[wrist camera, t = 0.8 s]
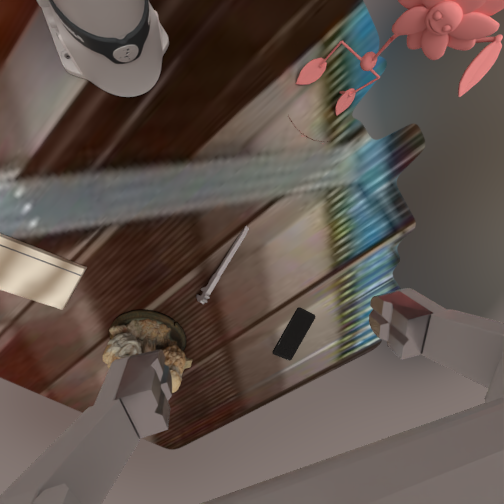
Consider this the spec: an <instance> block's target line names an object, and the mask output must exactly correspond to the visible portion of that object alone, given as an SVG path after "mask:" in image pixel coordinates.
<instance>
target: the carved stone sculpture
mask: <svg viewBox="0 0 504 504" xmlns="http://www.w3.org/2000/svg"><path fill="white" fill-rule="evenodd" d="M109 331H110V341H109V342H108V345H107V347H106V349H105V351H104V353H103V361H104V362H105V363H106V364H108V365H107V366H108V368H110V366H111V363H112V362H113V361H114V360H116V359H120V358H125V357H129V356H132V355H137V354H141V353H146V352H150V351H155V350H159V349H161V350H163V353H164V355H165V365H167V366H168V367H169V369H170V372H171V377H172V393H174V392H176V391H177V390H178V388H179V386H180V384H181V380H182V378H181V375H182V373H183V371H184V369H185V368H190V367H191V363H192V359H188V358H186V356H185V354H184V352H183V351H184V349H185V347H186V336H185V333H184V331H183V329H182V327H181V326H180V325H179V324H178V323H177V322H176V323H175V326H174V320H173V319H172V318H170V317H168V316H167V315H164V314H161V313H158V312H155V311H149V310H133V311H131V312H128V313H124V314H121V315H120V316H118V317H117V318H116V319H115V321H114V322H113V323H112V325H111V328H110V329H109Z"/></svg>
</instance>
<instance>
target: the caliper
mask: <svg viewBox="0 0 504 504" xmlns="http://www.w3.org/2000/svg"><path fill="white" fill-rule="evenodd" d="M248 230H249V228H248V227H247V226H245V228H244V229H243V230H242V232H241V233H240V235H239V236H238V238H237V239H236V241H235V243H234V244H233V246H232V247H231V249H230V251H229V252H228V254H227V255H226V257H225V259H224V260H223V262H222V263H221V265H220V266H219V268H218V270H217V271H216V273H215V274H213V276H212V278H211V279H210V281H209V283H208V285H207V286H206V287H203V288H201V291H203V294H202V295H201V296H200V295H198V294H197V296H196V297H197V301H199V302H201V303H202V304H204V303H205V302H206V303H207V299H209V298H210V297H208V296H209V295H210V294H211V292H212V290H213V289H214V287H215V285H216V284H217V282H218V281H219V279H220V276H221V275H222V273H223V271H224V270H225V268H226V266H227V265H228V263H229V262H230V260H231V258H232V257H233V255H234V254H235V252H236V250H237V249H238V247H239V246H240V244H241V242H242V241H243V239H244V237H245V236H246V234H247V231H248Z"/></svg>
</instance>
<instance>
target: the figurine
mask: <svg viewBox="0 0 504 504" xmlns="http://www.w3.org/2000/svg"><path fill="white" fill-rule="evenodd" d="M398 1H399V2H400V4H401V5H403V6H404V7H405V8H407V9H409V10H407V11H405V12H404V13H403V14H402V15H401V16H400V17H399V18H398V19H397V20H396V22H395V23H394V24H393V26H392V32H393V33H394V34H395V35H393V36H392V37H391V38H390V39H389V40H388V41H387V42H386V44H385V45H384V46H383V47H382V48H381V49H380V51H379V52H378V53H377V54H375V53H373V52H368V53H366V54H365V55H364V56H363V57H362V58H361V57H360V56H359V55H358V54H356V53H355V52H354V51H353V50H352V49H351V48H350V47H349V46H348V45H347V44H345V43H344V42H343V41H340V42H339V43H338V45H337V46H336V47H335V48H334V49H333V50H332V51H331V53H330V54H329V55H328V56H327V57H326V58H325V59H323V58H317V59H313V60H311V61H310V62H308V63H307V64H306V65H305V66H304V68H303V69H302V70H301V72H300V75H299V77H298V79H297V83H296V84H300V85H302V84H310V83H312V82H315V81H316V80H317V79H318V78H320V77H321V75H322V74H323V72H324V71H325V69H326V64H327V62H325V61H326V60H327V59H328V58H329V57H330V56H331V54H332V53H333V52H334V51H335V50H336V49H337V48H338V46H339V45H340V44H341V43H342V44H343V45H344V46H345V47H346V48H347V49H348V50H349V51H350V52H352V53H353V54H354V55H355V56H356V57H357V58H358V59H359V60H360V61H361V62H360V66H361V68H362V69H363V70H364V71H369V70H370V71H371V72H372V73H373V74H374V75H375V76H376V77H377V78H376V79H374V80H372V81H371V82H369V83H367V84H366V85H364V86H362V87H361V88H359V89H357V90H356V91H355V90H354V88H353V89H352V88H351V89H349V90H347V91H340V92H339V93H340V94H343V95H342V96H341V97H340V98H339V99H338V101H337V104H336V115H338V114H340V113H341V112H343V111H344V110H345V109H346V108H348V107H349V105H350V104H351V103H352V102H353V100H354V97H355V93H356V92H357V91H359V90H361V89H362V88H364V87H366V86H367V85H369V84H371V83H373V82H374V81H376V80H378V79H379V78H380V76H379V75H378V74H377V73H376V72H375V71H374V70H373V69H372V68H373V67H374V66H375V64H376V62H377V57H378V56H379V55H380V53H381V52H382V51H383V50H384V49H385V48H386V47H387V46H388V45H389V44H390V43H391V42H392V41H393V40H394V39H395V38H396V37H398V36H399V35H408V36H407V46H408V47H409V49H418V48H422V50H423V52H424V54H425V55H426V56H427V57H428V58H429V59H431V60H436V59H439V58H440V57H441V56H443V55H444V52H445V50H446V47H447V46H449V47H451V48H453V49H456V50H469V49H471V48H472V47H473V46H474V45H475V43H479V42H492V43H491V44H489V45H488V46H486V47H485V48H484V49H483V50H482V51H481V52H480V53H479V54H478V55H477V56H476V57H475V58H474V60H472V62H471V63H470V65H469V66H468V67H467V69H466V70H465V72H464V74H463V76H462V78H461V80H460V82H459V88H458V95H459V97H460V96H462V95H463V94H464V93H466V92H467V91H468V90H469V89H470V88H471V87H473V86H474V85H475V84H476V83H477V82H479V81H480V80H481V78H482V77H483V76H484V75H485V74H486V73H487V72H488V71H489V70H490V68H491V67H492V65H493V64H494V62H495V61H496V59H497V57H498V55H499V53H500V50H501V48H502V44H501V42H500V41H501V40H502V38H503V36H502V35H497V36H496V37H486V36H489V35H491V34H493V33H494V32H496V31H497V30H498V28H499V23H497V22H496V21H495V20H494V19H492V18H491V17H489V16H491V15H493V14H495V13H497V12H499V11H500V10H502V9H503V8H504V0H398ZM288 117H289V116H288ZM290 120H291V119H290ZM291 122H292V121H291ZM293 125H294V124H293ZM294 126H295V125H294ZM303 135H304V134H303ZM306 137H307V136H306ZM310 139H311V138H310ZM312 140H313V139H312ZM315 141H316V140H315ZM320 142H322V141H320ZM327 142H328V141H327Z"/></svg>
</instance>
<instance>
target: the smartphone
mask: <svg viewBox="0 0 504 504" xmlns="http://www.w3.org/2000/svg"><path fill="white" fill-rule="evenodd" d="M314 319H315V315H314V314H312V313H310V312H308V311H306V310H304V309H302V308H297V310H296V311H295V313H294V315H293V317H292V318H291V320H290V322H289V324H288V325H287V327H286V329H285V331H284V332H283V334H282V336H281V338H280V339H279V341H278V343H277V345H276V347H275V348H274V350H273V354H274V355H277V356H279V357H282V358H284V359H287V360H291V359H292V358H293V356H294V354H295V352H296V351H297V349H298V347H299V345H300V344H301V342H302V340H303V338H304V337H305V335H306V333H307V331H308V330H309V328H310V326H311V324H312V323H313V321H314Z"/></svg>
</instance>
